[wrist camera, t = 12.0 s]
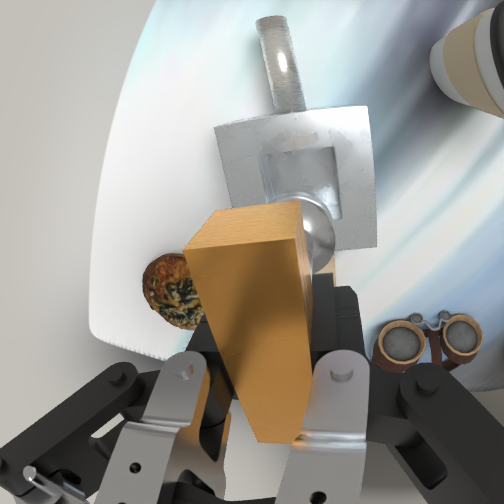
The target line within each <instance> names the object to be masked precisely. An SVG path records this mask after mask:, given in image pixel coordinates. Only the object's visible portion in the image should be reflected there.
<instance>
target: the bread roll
mask: <svg viewBox="0 0 504 504" xmlns="http://www.w3.org/2000/svg"><path fill="white" fill-rule="evenodd" d="M142 282H143V293H144V297H145V298H146V300H147V302H148V303H149V305H150V307H151V309H152V310H155V311H157V312H158V313H159V314H160V315H161V316H162V317H163V318H164V319H165V320H166V321H167V322H169V323H170V324H172V325H174V326H176V327H179V328H181V329H186V330H195V329H196V327H197V325H198V323H200V319H201V317H202V315H204V310H203V307H202V304H201V302H200V299H199V296H198V293H197V290H196V288H195V285H194V282H193V279H192V276H191V273H190V270H189V267H188V264H187V261H186V258H185V255H181V254H167V255H162V256H161V257H159V258H157V259H156V260H154V261H153V262H151V263H150V264H149V265H148V267H147V268H146V270H145V272H144V274H143V280H142Z"/></svg>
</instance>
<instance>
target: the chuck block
mask: <svg viewBox="0 0 504 504" xmlns="http://www.w3.org/2000/svg"><path fill="white" fill-rule="evenodd" d="M255 23H256V27H257V32H258V36H259V40H260V44H261V48H262V53H263V57H264V62H265V66H266V71H267V75H268V80H269V84H270V89H271V94H272V99H273V104H274V108H275V113H276V114H271V115H265V116H259V117H254V118H248V119H243V120H238V121H233V122H230V123H227V124H224V125H221V126H217V127H214V129H215V134H216V138H217V142H218V147H219V151H220V155H221V160H222V164H223V168H224V173H225V177H226V181H227V185H228V190H229V194H230V198H231V202H232V207H233V208H240V207H247V206H255V205H262V204H268V203H269V202H270V201H271V200H272V199H274V198H275V197H277V196H278V195H280V194H283V193H286V192H291V191H301V192H306V193H309V194H312V195H314V196H316V197H317V198H319V199H320V200H321V201H322V202H323V203H324V204H325V205H326V206H327V207H328V209H329V211H330V213H331V215H332V218H333V224H334V231H335V238H336V245H335V250H334V251H338V250H349V249H361V248H372V247H377V217H376V193H375V177H374V164H373V153H372V144H371V135H370V127H369V119H368V112H367V106H361V105H345V106H333V107H323V108H314V109H306V106H305V100H304V95H303V90H302V85H301V80H300V75H299V71H298V66H297V61H296V57H295V53H294V48H293V44H292V40H291V36H290V31H289V27H288V23H287V20H286V17H284V16H269V17H264V18H261V19H259V20H257V21H256V22H255Z"/></svg>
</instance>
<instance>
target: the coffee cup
mask: <svg viewBox="0 0 504 504" xmlns="http://www.w3.org/2000/svg"><path fill="white" fill-rule="evenodd" d="M429 64H430V70H431V73H432V76H433V78H434V80H435V82H436V84H437V85H438V87H439V88H440V89H441V90H442V92H443V93H444V94H445V95H447V96H448V97H449V98H451V99H452V100H454V101H456V102H458V103H462V104H465V105H469V106H472V107H474V108H476V109H479V110H481V111H484V112H487V113H490V114H492V115H495V116H498V117H500V118H503V119H504V1H502V2H500V3H499V4H498V5H497V6H496V8H495V9H489V10H486V11H484V12H483V13H481V14H479V15H477V16H475V17H474V18H472V19H470V20H468V21H467V22H465V23H463V24H462V25H460V26H458V27H456V28H455V29H453V30H452V31H451V32H450V33H449V34H448V35H447V36H445V37H443V38H442V39H440V40H439V41H437V42H436V43H435V44H434V45H433V47H432V49H431V51H430V56H429Z"/></svg>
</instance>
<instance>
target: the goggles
mask: <svg viewBox="0 0 504 504" xmlns="http://www.w3.org/2000/svg"><path fill="white" fill-rule="evenodd" d="M441 321H443V322H446V323H445V325H444V327H443V328H440V326H441ZM422 323H425V324H426V325H427V326H428V327H429V329H423V330H421V329H420V328H419V327H418V326H417V325H420V324H422ZM438 336H440V340H439V337H438ZM425 337H428V338H429V342H430V348H431V356H432V363H434V364H437V365H440V366H442V367H443V368H445V369H446V370H447V371H448V372H450V371H451V370H453V369H455V368H457V367H458V366H459V365H461V364H466V363H469V362H471V361H472V360H473V359H474V357H475V356H476V354H477V351H478V349H479V348H480V347H481V345H482V341H483V333H482V330H481V328H480V326H479V324H478V323H477V322H476V321H475V320H474V319H473V318H471V317H469V316H467V315H459V314H458V315H455V316H452V317H451V314H450V312H448V311H445V310H444V311H442V312H441V313H440V321H439V327H437V328H432V327H431V326H430V325H429V324H428V323H427V321H425V320H423V317H422V315H421V314H419V313H415V314H413V315H412V316H411V322H410V321H405V320H397V321H393V322H390V323H389V324H388V325H386V326H385V327H384V328H383V329H382V331H381V333H380V334H379V337H378V339H377V341H376V342H375V344H374V348H373V356H372V361H371V363H372V364H373V365H375V366H376V367H378V368H380V369H382V370H385V371H390V372H396V373H402V372H404V371H406V370H407V369H409V368H410V367H412V366H414V365H415V364H416V363H417V362H418V360H419V358H420V357H421V356H422V354H423V352H424V350H425V348H426V338H425ZM440 345H441V346H440ZM441 348H442V350H443V352H444V354H445V355H446V356H447V357H448V358H449V360H447V361H445V362H443V363H442V353H441ZM377 365H378V366H377ZM403 374H404V373H403Z"/></svg>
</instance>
